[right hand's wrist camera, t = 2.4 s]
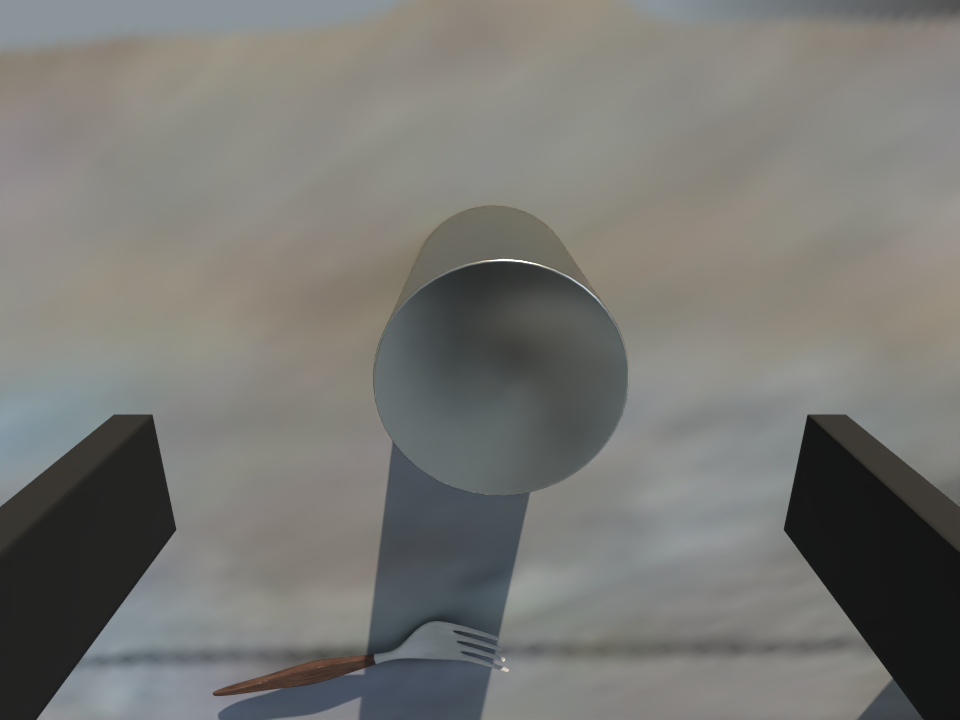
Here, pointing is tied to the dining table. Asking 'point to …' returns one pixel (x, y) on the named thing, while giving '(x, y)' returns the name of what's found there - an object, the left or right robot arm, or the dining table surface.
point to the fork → (378, 659)
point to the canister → (499, 358)
